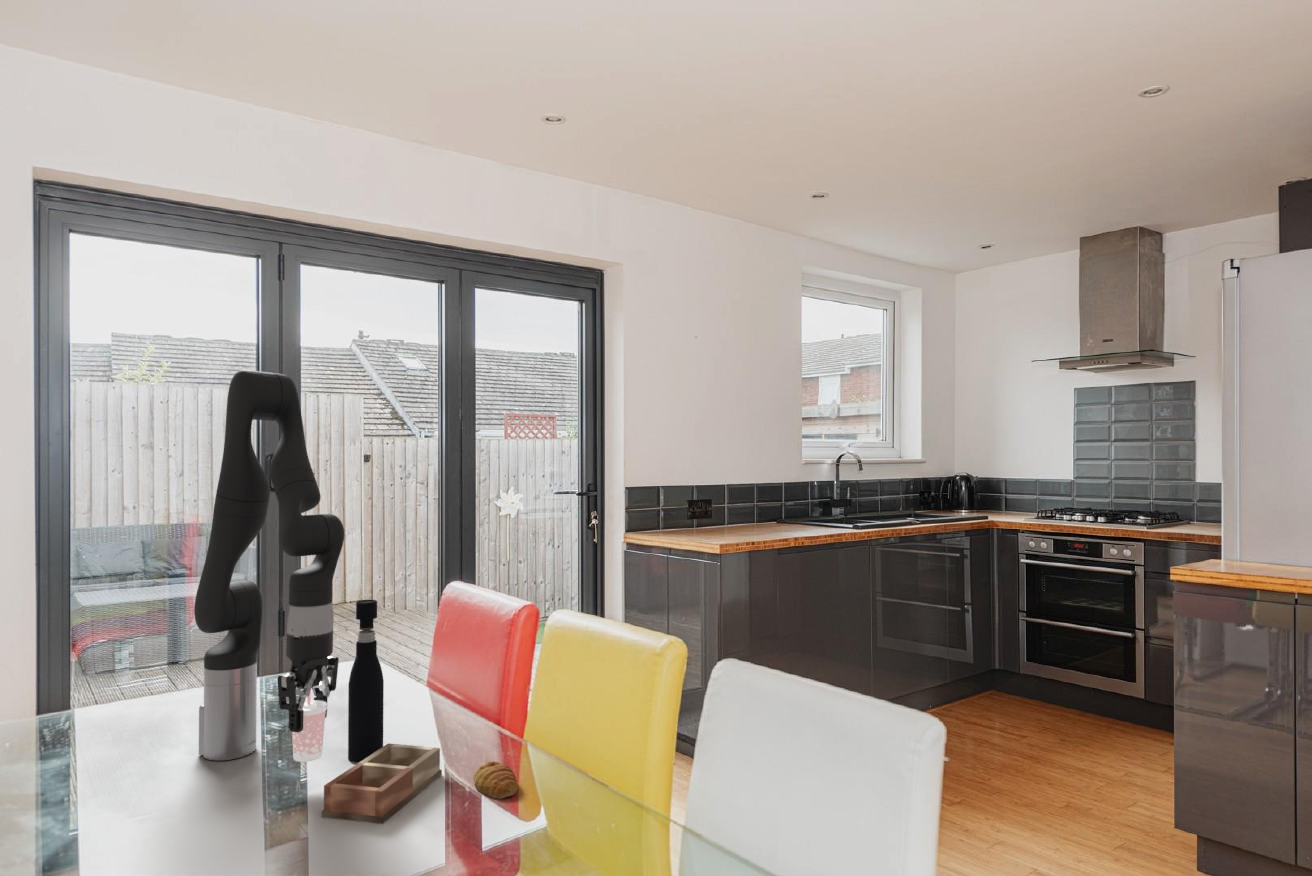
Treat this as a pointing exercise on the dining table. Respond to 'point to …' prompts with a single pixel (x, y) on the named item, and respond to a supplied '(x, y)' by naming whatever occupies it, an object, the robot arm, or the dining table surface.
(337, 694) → the dining table surface
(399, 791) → the cup holder
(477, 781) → the pastry
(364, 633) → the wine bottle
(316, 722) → the beverage cup
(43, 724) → the dining table surface
